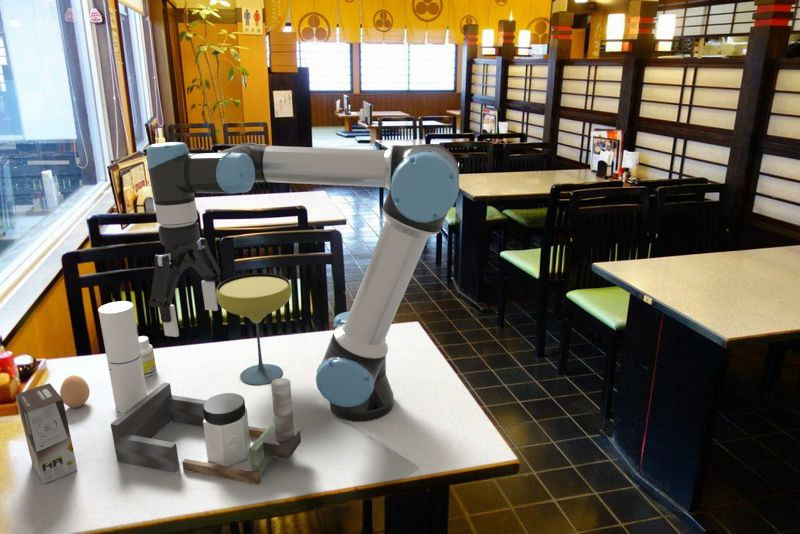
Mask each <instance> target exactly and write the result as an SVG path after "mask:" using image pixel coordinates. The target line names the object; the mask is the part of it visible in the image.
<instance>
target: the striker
mask: <svg viewBox="0 0 800 534" xmlns="http://www.w3.org/2000/svg"><path fill="white" fill-rule="evenodd" d="M270 384H271V385H270V386H271V395H272V397H271V398H272V409H273V410H272V411H273V421H272V422H271V423H270V424H269V425H268V426H267V427H266V428H265V429H266V430H265V431H264V432H263V433H262V435H261V436H260V437H259V438H256V441H255V442H253V444H252V445H250V449H249V456H250V465H251V466H250V467H251V471H254V472H259V473H260V475H261V474H262V473H263V472H264V470H265V469H266V467H268V465H269V464H270V462H271V461H272V460H273V459H274V458H277V459H282V460H290V458H291V457H292V455H293V454H294V453H295V452H296V450H297V448H298V447H299V446H300V444H301V443H302V431H301V429H300V428H296V427H295V426H294V416H293V402H292V401H293V400H292V387H291V385H292V384H291V380H290V379H288V378H285V377H280V378H278V379H275V380H273V381H272V382H271V383H270Z"/></svg>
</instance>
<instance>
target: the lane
mask: <svg viewBox="0 0 800 534" xmlns="http://www.w3.org/2000/svg"><path fill="white" fill-rule="evenodd" d="M207 400H208V399H199V398H192V397H188V396H187V397H186V396H182V395H181V396H180V395H175V394H174V395H173V394H172V389H171V383H170V382H163V383H162V384H160V385H159V386H158V387H156V388H155V389H154V390H152V391H151V392H150V393H148V394H147V396H146V397H145V398H143V399H142V400H141V401H140V402H138V403H137V404H136V405H134V406H133V407H132V408H130V409H129V410H128V411H127V412H123V414H121V415H120V416H119V417H117V418H116V419H115V420H113V422H111V423H110V429H111V434H112V440H113V445H114V451H115V456H116V462H117V463H118V464H119V463H120V464H124V465H129V466H136V467H140V468H146V469H150V470H157V471H161V472H165V473H166V472H167V473H172V474H177V472H178V471H179V470H180V468H181V466H180V461H179V453H178V447H177V446H178V445H177V443H176V442H171V441H165V440H159V439H155V438H154V437H156V436H157V435H158V434H159V433H160V432H161V431H162V430H163V429H164V428H165V427H167V426H168V425H169V424H170V423H177V424H183V425H189V426H194V427H199V428H204V426H203V420H204V411H203V405H204V403H205V402H206V401H207ZM248 426H249V425H248ZM266 429H267V428H263V427H255V426H249V436H250V438H253V439H258V438H259V437H260V436H261V435H262V433H263V432H264V431H265V430H266ZM181 462H182V463H181V464H182V469H183V471H184V472H189V473H196V474H201V475H207V476H211V477H216V478H222V479H226V480H227V479H228V480H232V481H237V482H243V483H247V484H248V483H249V484H254V485H259V484H260V483H261V481H262V480H261V478H262V477H261V474H260V473H259V472H254V471H252V470H248V469H243V468H242V469H241V468H237V467H230V466H221V465H219V464H216V463H212V462H211V463H210V462H204V461H199V460H194V459H189V458H184V459H183V460H182V461H181Z"/></svg>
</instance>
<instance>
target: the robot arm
mask: <svg viewBox="0 0 800 534" xmlns="http://www.w3.org/2000/svg"><path fill="white" fill-rule="evenodd" d="M146 159H147V171H148V174H149V179H150V185H151V190H152V195H153V203H154V207H155V215H156V221H157V224H159V226H158V227H157V230H158V235H159V236H158V237H159V242H160V244H161V245H163V247H165V252H164V254H155V255H154V257H153V259H154V261H153V262H154V271H153V277H152V284H151V291H150V297H149V304H148V305H149V306H150V307H154V308H158V309H159V316H160V320H161V322H162V325H163V330H164V331H163V332H164V336H166V337H174V338H177V337H179V336H180V333H179V332H180V331H179V326H178V320H177V314H176V306H175V304H172V302H173V299H174V295H175V292H176V288H177V286H178V282H179V279H180V277H181V275H183V274H184V271H185V270H187V269H188V268H189V267H190V268H193V269H194V270H195V271H196V272H197V274H198V275H199V276H200V277H201V278H202V279H203V280H201V282H200V283H201V290H202V296H203V303H204V310H205V311H206V310H207V311H213V312H217V311H219V307H218V301H217V296H216V290H217V287H216V282H218V281H219V280H220V274H221V270H220V267H219V265H218V263H217V261H216V259H215V258H214V256H213V254H212V252H211V250H210V247H209V244H208V240H207V238H205V237H201V234H200V232H201V231H200V226H199V223H198V222H197V220H198V217H199V216H198V210H197V204H196V197H195V194H200V193H201V194H230V195H234V194H237V193H239V194H240V193H248V192H249V191H251V190H252V188H253V185H254V184H255V182H256V183H259V182H260V183H282V184H283V183H285V184H305V185H306V184H309V185H310V184H311V185H329V186H349V187H352V186H354V187H372V188H374V187H375V188H385V189H387V190H388V193H387V195H386V198H385V201H384V203H383V206H382V208H381V210H382V212H383V215H384V218H385V222H384V225H383V228H382V230H381V232H380V234H379V235H380V236H379V238H378V240H377V242H376V246H375V247H374V250H373V252H372V256H371V258H370V260H369V262H368V265H367V269H366V270H365V273H364V274H363V275H364V276H363V279H362V281H361V283H360V285H359V288H358V291H357V292H356V293H357V294H356V296H355V298H354V300H353V303H352V306H351V309H350V310H349V311H345V312H341V313H339V314H337V315H336V316H334V318H333V325H332V328H333V333H332V336H331V338H330V342H329V344H328V346H327V349H326V352H325V354H324V355H323V359H322V362H321V363H320V364H318V367H317V370H316V374H315V375H316V376H315V383H316V387H317V389H318V391H319V392H320V394H321V396H322V397H323V398H324V399H325V400H326V401H328V402H329V408H330V411H331V413H332V414H334V415H335V417H337V418H339V419H342V420H345V421H348V422H356V423H357V422H358V423H360V422H361V423H363V422H365V423H366V422H372V421H376V420H378V419H381V418H382V417H385V416H387V415H388V414H389V413H390V412H391V411H392V409H393V407H394V403H395V402H394V398H395V397H394V392H393V390H392V386H391V384H390V382H389V380H388V379H389V378H388V377H387V371H386V370H387V369H386V368H387V364H386V363H387V360H386V359H387V358H386V357H387V354H388V351H389V346H388V344H387V342H386V338H387V335H388V333H389V332H390V328H391V325H392V323H393V321H394V319H395V316H396V315H397V311H398V309H399V306H400V304H401V302H402V300H403V297H404V296H405V292H406V290H407V289H408V286H409V284H410V282H411V279H412V276H413V275H414V271H415V270H416V267H417V265H418V262H419V260H420V258H421V257H422V256H421V255H422V253H423V251H424V249H425V246H426V244H427V242H428V239H429V238H431V237H432V236H435V235H437V234H439V233H440V232H441V230H442V227H443V225H444V222H445V220H446V217H447V216H448V214H449V212H450V211H451V208H452V207H454V205H455V203H456V200H457V198H458V196H459V190H460V168H459V165H458V162H457V160H456V157H454V155H453V154H452V153H451V152H450V151H449V150H448V149H446V148H445V147H443V146H441V145H438V144H431V143H428V144H427V143H426V144H423V143H422V144H412V145H410V144H409V145H399V144H398V145H394V144H393V145H391V146H390V147H389V148H388V149H366V148H365V149H363V148H361V149H360V148H336V147H335V148H333V147H312V146H311V147H307V146H305V147H304V146H281V145H259V144H257V143H254V142H250V143H249V142H246V143H244V142H242V143H239V144H237V145H236V146H233V147H230V148H227V149H225V150H221V151H218V152H210V153H209V152H207V153H205V152H204V153H195V152H194V153H193V152H190V150H189V147H188V144H186V143H185V142H183V141H181V142H180V141H179V142H178V141H169V142H168V141H167V142H158V143H153V144H150V145H149V146H147V148H146Z"/></svg>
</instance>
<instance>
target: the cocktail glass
mask: <svg viewBox="0 0 800 534" xmlns="http://www.w3.org/2000/svg"><path fill="white" fill-rule="evenodd" d="M291 296H292V286H291V282H290V280H289V279H288V278H286V277H285V276H283V275H280V274H274V273H248V274H242V275H237V276H234V277H231V278H228V279H226V280H223V281H222V282H220V283H219V284H218V285H217V287H216V299H217V304H218V305H219V307H220V308H222V309H223V310H225V311H226V312H228V313H230V314H233V315H236V316H240V317H245V318H248V319H249V320H250V321H251V322H252V323H254V324H255V327H256V330H255V331H256V340H257V341H256V342H257V354H258V357H257V358H258V364H255V365H252V366H250V367H247V368H245V369H244V370H243V371H241V373H240V375H239V377H240V378H239V379H240V380H241V381H242V382H243V383H244V384H247V385H252V386H262V385H268V384H271V383H272V381H273V380H275V379H278V378H282V375H283V370H282V368H281V367H280V366H278V365H276V364H271V363H263V358H262V349H261V348H262V347H261V339H260V326H259V323H261V322H262V321H263V319H264V318H265V316H267V315H269V314H272V313H274V312H277V311H278V310H280V309H281V308H283V307H284V306H285V305H286V304H287V303H288V302H289V300H291Z"/></svg>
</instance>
